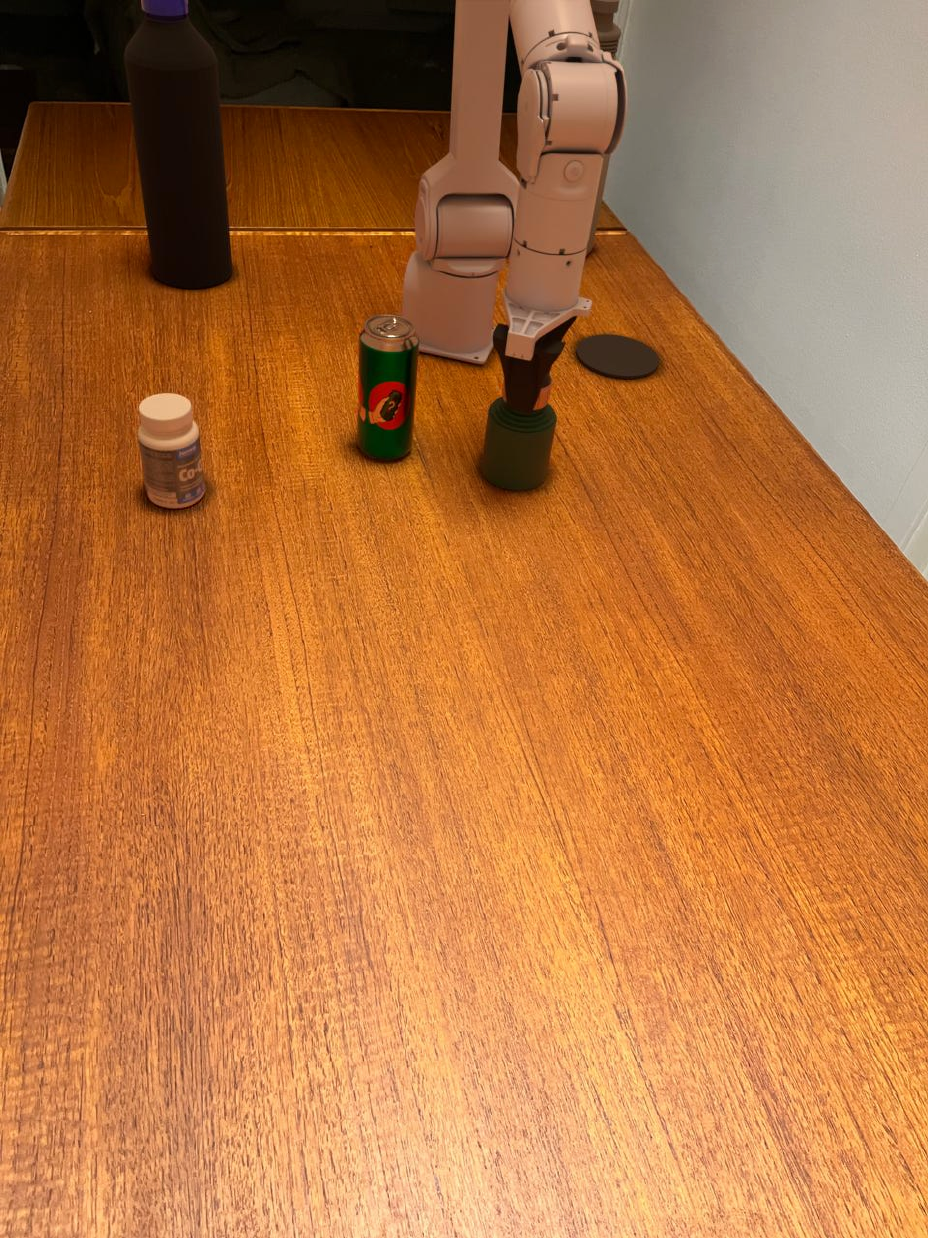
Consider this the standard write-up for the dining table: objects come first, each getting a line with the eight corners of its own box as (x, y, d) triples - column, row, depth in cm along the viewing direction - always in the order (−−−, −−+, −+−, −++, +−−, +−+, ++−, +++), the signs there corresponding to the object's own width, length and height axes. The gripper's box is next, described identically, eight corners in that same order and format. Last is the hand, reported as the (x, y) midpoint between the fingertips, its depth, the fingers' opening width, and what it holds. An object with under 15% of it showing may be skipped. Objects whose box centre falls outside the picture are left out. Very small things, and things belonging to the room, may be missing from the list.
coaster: (569, 368, 103) (569, 365, 102) (583, 330, 109) (583, 327, 109) (653, 386, 102) (654, 383, 101) (662, 347, 108) (663, 344, 108)
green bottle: (473, 481, 86) (484, 393, 80) (489, 446, 91) (501, 359, 85) (539, 497, 86) (555, 408, 80) (552, 460, 90) (568, 373, 84)
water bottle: (502, 232, 127) (533, -19, 107) (567, 226, 130) (608, -19, 111) (539, 265, 120) (579, 5, 101) (606, 258, 124) (657, 5, 105)
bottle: (248, 271, 112) (231, -13, 93) (194, 296, 106) (164, 0, 87) (191, 248, 115) (163, -32, 95) (135, 272, 109) (93, -21, 90)
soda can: (423, 449, 89) (432, 329, 81) (383, 470, 86) (389, 347, 78) (385, 425, 92) (390, 306, 83) (345, 445, 89) (346, 323, 80)
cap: (552, 392, 84) (556, 371, 83) (542, 415, 81) (546, 394, 80) (508, 381, 85) (511, 361, 83) (496, 404, 82) (499, 383, 80)
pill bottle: (192, 514, 79) (181, 427, 74) (137, 503, 80) (122, 415, 74) (214, 482, 83) (205, 395, 77) (161, 471, 83) (149, 384, 77)
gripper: (584, 288, 68) (554, 452, 77) (617, 216, 78) (586, 367, 87) (487, 268, 69) (469, 432, 78) (532, 199, 79) (511, 350, 88)
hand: (525, 397), depth 83 cm, fingers closed on cap, 4 cm apart
